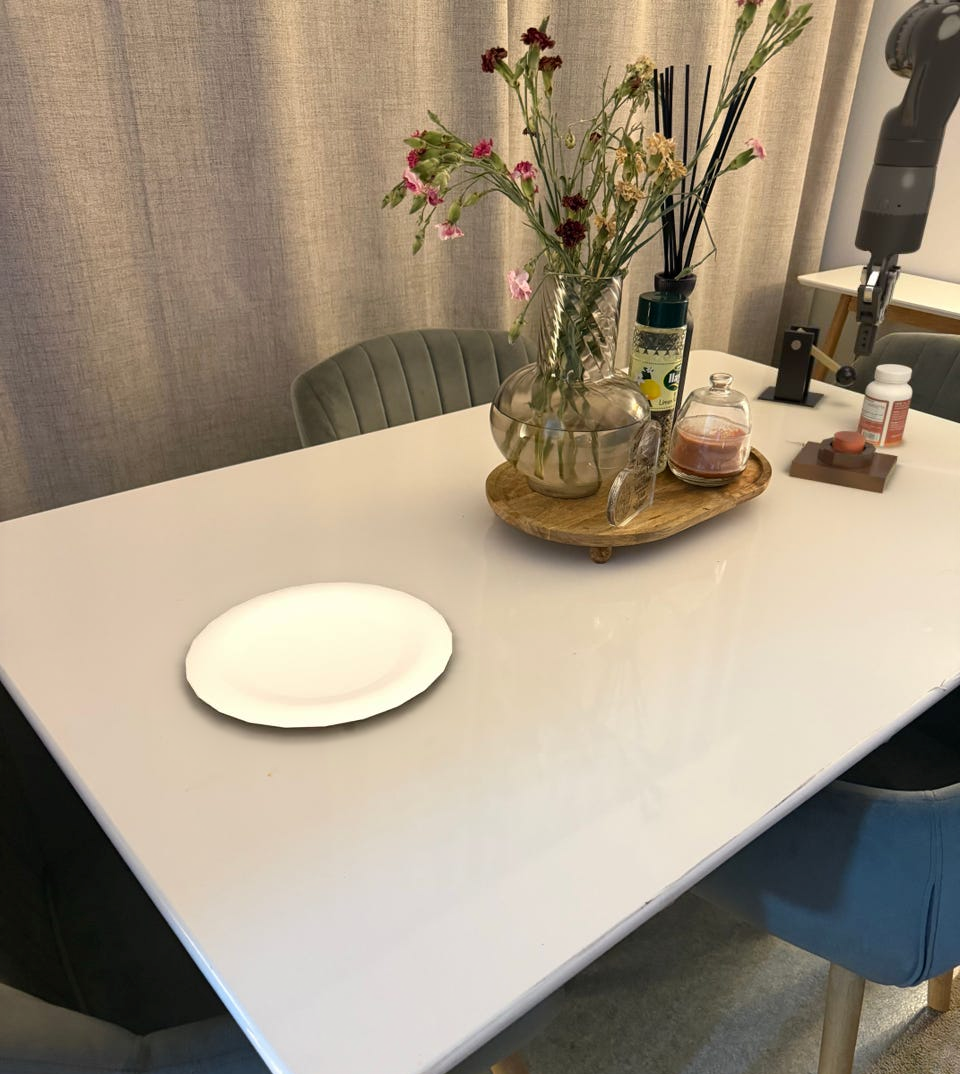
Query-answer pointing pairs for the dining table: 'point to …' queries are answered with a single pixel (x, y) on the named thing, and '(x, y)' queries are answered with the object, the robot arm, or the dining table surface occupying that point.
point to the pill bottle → (886, 405)
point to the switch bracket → (795, 369)
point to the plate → (319, 655)
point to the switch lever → (835, 367)
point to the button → (848, 441)
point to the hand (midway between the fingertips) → (863, 354)
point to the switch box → (844, 466)
